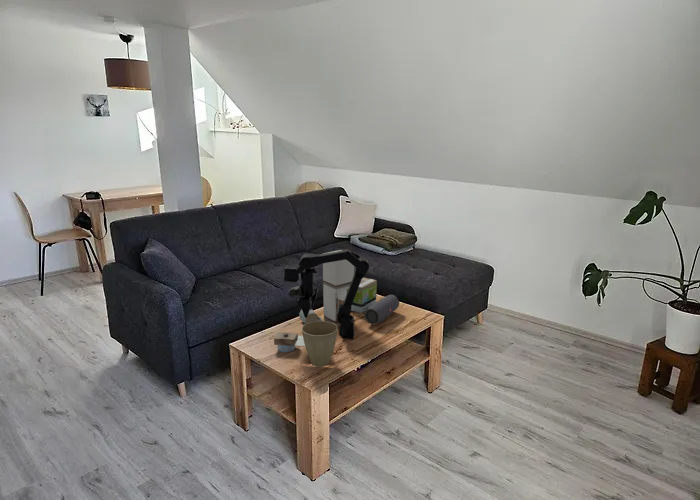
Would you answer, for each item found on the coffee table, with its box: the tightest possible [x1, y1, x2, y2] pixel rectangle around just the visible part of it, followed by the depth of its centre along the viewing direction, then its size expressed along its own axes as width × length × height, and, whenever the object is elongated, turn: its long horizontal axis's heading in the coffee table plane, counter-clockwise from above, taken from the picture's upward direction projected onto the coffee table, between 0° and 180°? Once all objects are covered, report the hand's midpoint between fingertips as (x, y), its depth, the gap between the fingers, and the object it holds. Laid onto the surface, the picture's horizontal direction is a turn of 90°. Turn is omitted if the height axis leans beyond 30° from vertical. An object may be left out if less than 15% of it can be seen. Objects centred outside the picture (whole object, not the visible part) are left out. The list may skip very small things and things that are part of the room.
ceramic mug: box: [298, 309, 323, 325], centre depth 236 cm, size 11×8×8 cm
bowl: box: [277, 345, 296, 353], centre depth 208 cm, size 7×7×4 cm
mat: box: [295, 335, 305, 347], centre depth 216 cm, size 10×10×1 cm
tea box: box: [351, 277, 378, 314], centre depth 255 cm, size 15×10×15 cm
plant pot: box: [301, 320, 339, 368], centre depth 196 cm, size 15×15×16 cm
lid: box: [273, 331, 299, 347], centre depth 207 cm, size 9×6×4 cm
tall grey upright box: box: [322, 249, 355, 325], centre depth 236 cm, size 11×11×35 cm
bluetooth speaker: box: [364, 294, 400, 325], centre depth 241 cm, size 23×9×10 cm, turn 148°
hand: (308, 313), depth 218 cm, fingers open, 9 cm apart
